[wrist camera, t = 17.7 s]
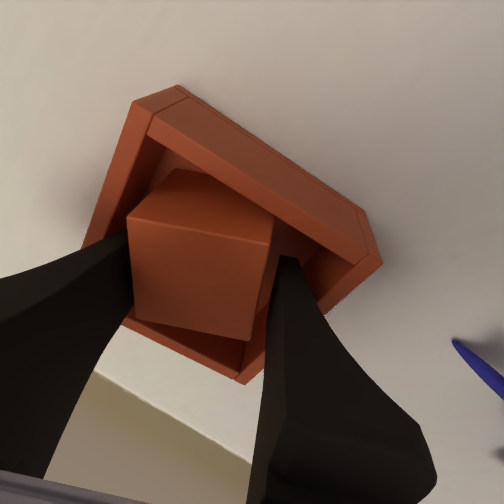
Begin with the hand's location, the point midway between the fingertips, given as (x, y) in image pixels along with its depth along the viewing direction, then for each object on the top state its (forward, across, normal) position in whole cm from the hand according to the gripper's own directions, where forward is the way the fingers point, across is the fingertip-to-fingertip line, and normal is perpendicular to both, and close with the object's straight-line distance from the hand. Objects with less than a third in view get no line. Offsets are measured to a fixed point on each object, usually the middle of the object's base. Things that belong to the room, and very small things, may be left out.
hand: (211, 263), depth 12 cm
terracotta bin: (+2, 0, 0) cm, 2 cm away
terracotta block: (+2, 0, -1) cm, 2 cm away
